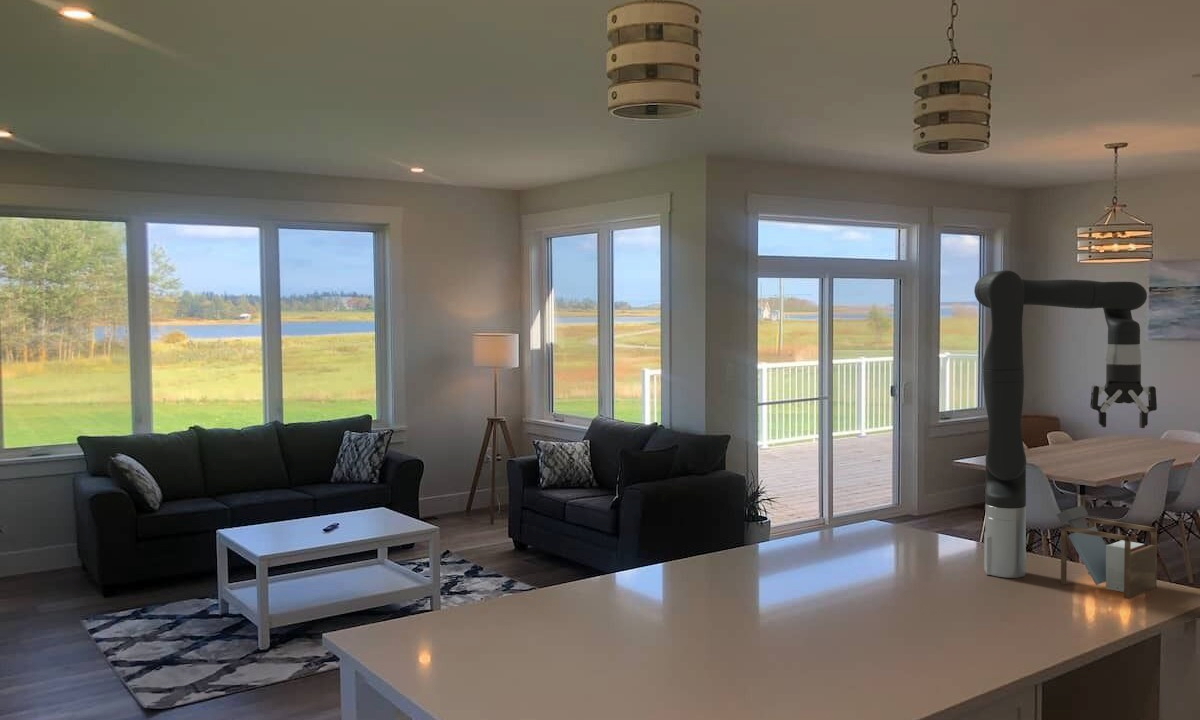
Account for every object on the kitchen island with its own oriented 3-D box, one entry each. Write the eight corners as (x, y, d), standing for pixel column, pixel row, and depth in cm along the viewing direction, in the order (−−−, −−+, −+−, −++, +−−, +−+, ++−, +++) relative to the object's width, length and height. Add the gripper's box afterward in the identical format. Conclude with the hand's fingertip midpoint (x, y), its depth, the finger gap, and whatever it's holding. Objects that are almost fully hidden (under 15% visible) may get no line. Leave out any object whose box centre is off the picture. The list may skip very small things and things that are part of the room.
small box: (1130, 594, 211) (1130, 549, 211) (1104, 589, 216) (1105, 544, 215) (1145, 588, 216) (1146, 543, 215) (1120, 582, 220) (1120, 539, 220)
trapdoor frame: (1060, 584, 220) (1061, 526, 219) (1090, 573, 229) (1090, 517, 228) (1128, 598, 208) (1128, 537, 207) (1156, 586, 217) (1157, 527, 216)
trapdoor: (1052, 515, 222) (1062, 510, 220) (1076, 508, 229) (1086, 504, 227) (1092, 586, 215) (1103, 582, 213) (1115, 577, 222) (1127, 573, 220)
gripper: (1094, 363, 227) (1094, 428, 228) (1160, 363, 223) (1159, 429, 223) (1088, 361, 234) (1088, 425, 235) (1151, 361, 230) (1151, 426, 231)
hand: (1122, 427), depth 229 cm, fingers open, 8 cm apart
